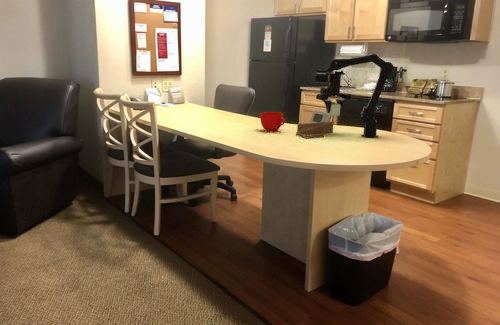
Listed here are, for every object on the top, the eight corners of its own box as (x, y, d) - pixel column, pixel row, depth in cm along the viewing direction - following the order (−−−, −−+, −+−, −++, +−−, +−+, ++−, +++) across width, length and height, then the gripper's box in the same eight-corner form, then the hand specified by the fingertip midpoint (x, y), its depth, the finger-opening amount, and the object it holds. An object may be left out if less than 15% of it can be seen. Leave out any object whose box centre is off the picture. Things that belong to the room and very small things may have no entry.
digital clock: (307, 126, 237) (308, 109, 235) (320, 126, 240) (321, 108, 237) (319, 131, 222) (320, 113, 220) (333, 130, 225) (334, 112, 222)
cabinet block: (339, 115, 209) (340, 103, 207) (331, 116, 207) (332, 103, 205) (333, 114, 214) (334, 101, 212) (325, 114, 212) (326, 101, 211)
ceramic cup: (275, 134, 213) (275, 116, 210) (255, 130, 225) (255, 113, 223) (292, 132, 220) (292, 114, 218) (272, 128, 233) (272, 111, 230)
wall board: (342, 135, 211) (343, 124, 209) (305, 138, 203) (306, 127, 201) (331, 132, 220) (331, 121, 219) (295, 135, 212) (296, 124, 210)
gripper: (341, 82, 217) (338, 110, 221) (311, 82, 210) (310, 111, 214) (353, 83, 207) (350, 113, 211) (322, 84, 200) (320, 114, 204)
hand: (332, 112), depth 210 cm, fingers closed on cabinet block, 5 cm apart
